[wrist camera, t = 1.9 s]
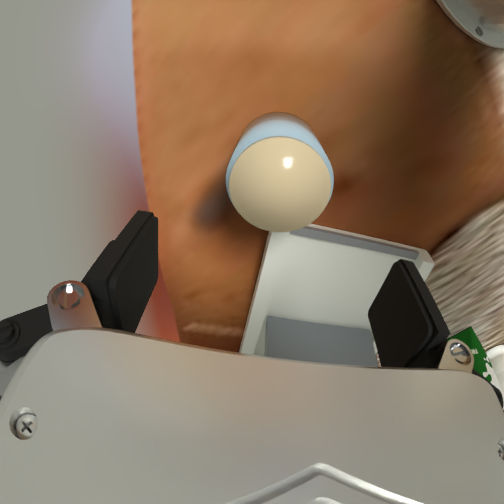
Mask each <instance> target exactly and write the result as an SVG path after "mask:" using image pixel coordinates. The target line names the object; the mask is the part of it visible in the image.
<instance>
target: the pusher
mask: <svg viewBox="0 0 504 504" xmlns="http://www.w3.org/2000/svg"><path fill="white" fill-rule="evenodd" d="M264 356H265V357H273V358H281V359H289V360H298V361H308V362H318V363H330V364H342V365H357V366H375V367H378V362H377V358H376V354H375V349H374V345H373V341H372V337H371V333H370V330H368V329H360V328H351V327H343V326H335V325H327V324H320V323H312V322H305V321H298V320H292V319H285V318H278V317H272V316H268V318H267V321H266V331H265V351H264Z"/></svg>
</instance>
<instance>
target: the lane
mask: <svg viewBox="0 0 504 504" xmlns="http://www.w3.org/2000/svg"><path fill="white" fill-rule="evenodd" d="M399 259H404V260H408V261H412V262H413V263H414V264H415V266H416V268H417V269H418V271H419V273H420V275H421V277H422V278H423V280H424V282H425V280H426V279H427V277H428V275H429V274H430V272H431V270H432V268H433V267H434V265H435V263H434V261H433V260H432V258H431V257H430V255H429V253H428V252H427V250H424V249H420V248H416V247H412V246H408V245H404V244H400V243H396V242H391V241H387V240H383V239H379V238H374V237H370V236H366V235H361V234H357V233H352V232H348V231H343V230H339V229H334V228H329V227H325V226H320V225H315V224H309V225H307V226H305V227H303V228H301V229H298V230H295V231H290V232H271V231H269V233H268V237H267V241H266V245H265V249H264V253H263V257H262V261H261V265H260V269H259V273H258V278H257V282H256V286H255V290H254V294H253V298H252V302H251V306H250V310H249V314H248V318H247V322H246V326H245V330H244V333H243V337H242V341H241V345H240V349H239V353H244V354H251V355H258V356H264V351H265V331H266V321H267V318H268V316H272V317H278V318H285V319H292V320H298V321H305V322H312V323H320V324H327V325H335V326H343V327H351V328H360V329H368V330H370V333H371V337H372V341H373V345H374V349H375V354H376V353H377V352H378V351H377V347H376V344H375V340H374V336H373V333H372V329H371V326H370V322H369V319H368V311H369V308H370V306H371V305H372V303H373V301H374V299H375V297H376V296H377V294H378V292H379V290H380V288H381V286H382V284H383V283H384V281H385V279H386V277H387V275H388V273H389V271H390V269H391V267H392V265H393V264H394V262H397V261H398V260H399Z"/></svg>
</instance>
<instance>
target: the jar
mask: <svg viewBox="0 0 504 504" xmlns="http://www.w3.org/2000/svg"><path fill="white" fill-rule="evenodd" d="M486 354H487V356H488V358H489V360H490V362H491V365H492V367H493V369H494V372H495V374H496V377H497V379H498V382H499V384H500V387H501V389H502V392H503V395H504V345H498V346H495V347H493V348H491V349H489V350H488V351H486Z"/></svg>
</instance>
